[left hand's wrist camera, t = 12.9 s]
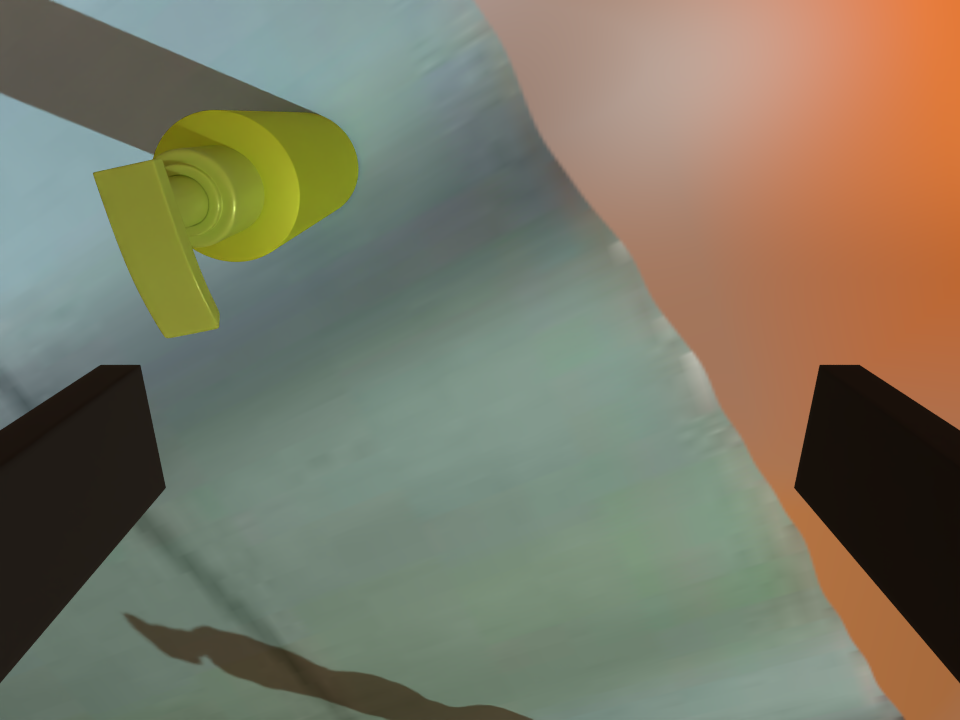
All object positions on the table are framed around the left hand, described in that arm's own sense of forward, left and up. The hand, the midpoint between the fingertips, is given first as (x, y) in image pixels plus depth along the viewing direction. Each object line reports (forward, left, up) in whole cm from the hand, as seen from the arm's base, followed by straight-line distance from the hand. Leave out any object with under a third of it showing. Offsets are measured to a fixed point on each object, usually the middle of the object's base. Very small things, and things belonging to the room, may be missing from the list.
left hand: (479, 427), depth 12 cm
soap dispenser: (-5, -9, -28) cm, 30 cm away
